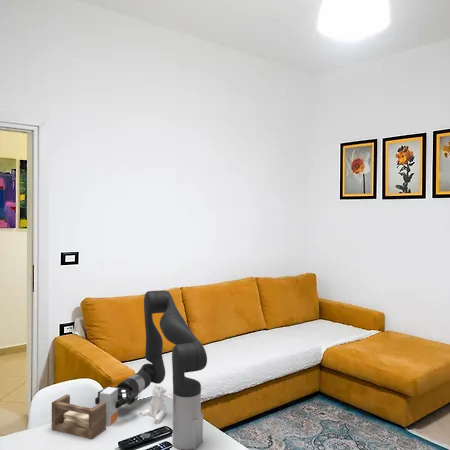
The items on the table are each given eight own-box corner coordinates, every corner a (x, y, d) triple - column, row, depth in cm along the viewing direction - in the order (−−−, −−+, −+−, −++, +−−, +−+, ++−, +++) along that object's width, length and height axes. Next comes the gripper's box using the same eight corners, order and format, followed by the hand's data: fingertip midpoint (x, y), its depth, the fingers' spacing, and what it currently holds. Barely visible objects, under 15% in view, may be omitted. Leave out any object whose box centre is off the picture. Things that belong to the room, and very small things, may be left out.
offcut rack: (106, 432, 159) (106, 402, 159) (92, 442, 152) (92, 411, 152) (66, 423, 166) (66, 394, 165) (51, 432, 159) (51, 402, 158)
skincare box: (109, 427, 162) (109, 394, 161) (98, 426, 163) (99, 392, 162) (118, 420, 168) (118, 387, 167) (107, 418, 169) (107, 386, 168)
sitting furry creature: (138, 417, 171) (138, 385, 170) (154, 409, 178) (154, 378, 177) (157, 424, 165) (157, 391, 165) (173, 415, 173) (173, 384, 172)
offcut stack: (99, 428, 160) (99, 414, 160) (90, 435, 155) (90, 421, 155) (71, 422, 164) (71, 409, 164) (61, 428, 159) (61, 414, 159)
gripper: (115, 375, 181) (89, 390, 166) (147, 380, 176) (123, 396, 161) (115, 393, 181) (89, 410, 166) (147, 399, 176) (123, 417, 161)
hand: (106, 403), depth 163 cm, fingers open, 8 cm apart
